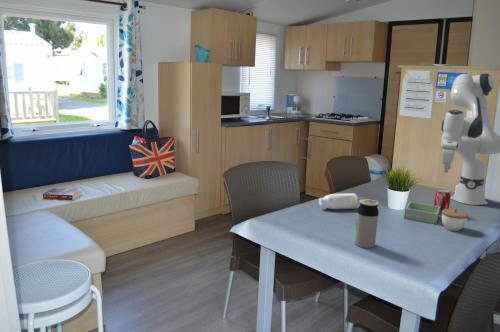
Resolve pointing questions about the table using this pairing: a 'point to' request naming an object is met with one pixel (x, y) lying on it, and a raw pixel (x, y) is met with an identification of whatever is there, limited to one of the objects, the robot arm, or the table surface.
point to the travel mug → (366, 223)
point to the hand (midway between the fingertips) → (447, 170)
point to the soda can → (442, 199)
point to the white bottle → (339, 201)
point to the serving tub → (422, 212)
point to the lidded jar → (454, 219)
